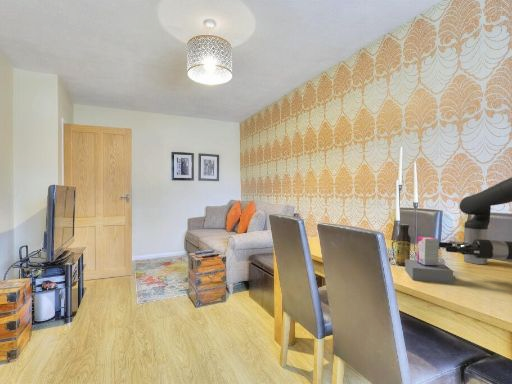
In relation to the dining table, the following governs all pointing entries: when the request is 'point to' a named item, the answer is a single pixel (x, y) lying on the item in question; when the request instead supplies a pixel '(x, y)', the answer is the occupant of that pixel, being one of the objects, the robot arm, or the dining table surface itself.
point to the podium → (429, 272)
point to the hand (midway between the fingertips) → (442, 246)
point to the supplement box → (428, 251)
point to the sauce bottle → (403, 245)
